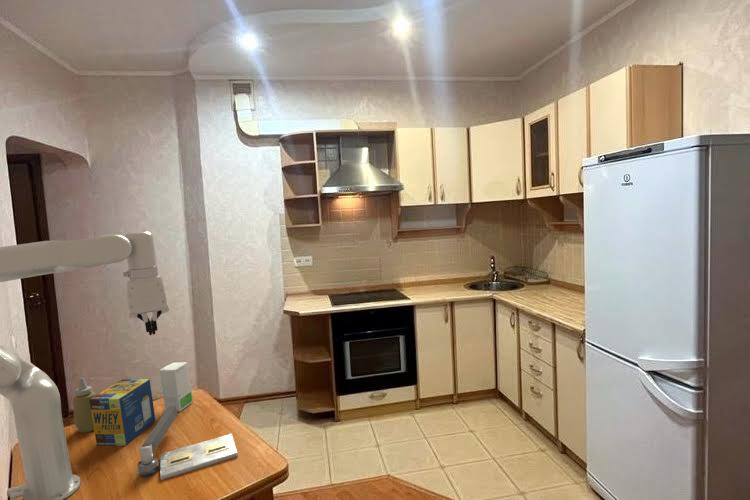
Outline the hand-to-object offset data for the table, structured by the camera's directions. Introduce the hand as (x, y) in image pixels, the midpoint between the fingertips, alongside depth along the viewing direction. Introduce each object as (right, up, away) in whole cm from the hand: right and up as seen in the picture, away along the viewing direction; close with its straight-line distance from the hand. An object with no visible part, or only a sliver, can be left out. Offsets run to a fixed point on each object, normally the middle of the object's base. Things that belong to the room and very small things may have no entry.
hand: (152, 333), depth 134 cm
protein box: (-15, -35, +13) cm, 40 cm away
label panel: (+16, -35, -5) cm, 39 cm away
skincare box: (-5, -32, +29) cm, 44 cm away
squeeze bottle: (-30, -36, +18) cm, 50 cm away
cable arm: (+2, -32, 0) cm, 32 cm away
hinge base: (+4, -36, -10) cm, 38 cm away
